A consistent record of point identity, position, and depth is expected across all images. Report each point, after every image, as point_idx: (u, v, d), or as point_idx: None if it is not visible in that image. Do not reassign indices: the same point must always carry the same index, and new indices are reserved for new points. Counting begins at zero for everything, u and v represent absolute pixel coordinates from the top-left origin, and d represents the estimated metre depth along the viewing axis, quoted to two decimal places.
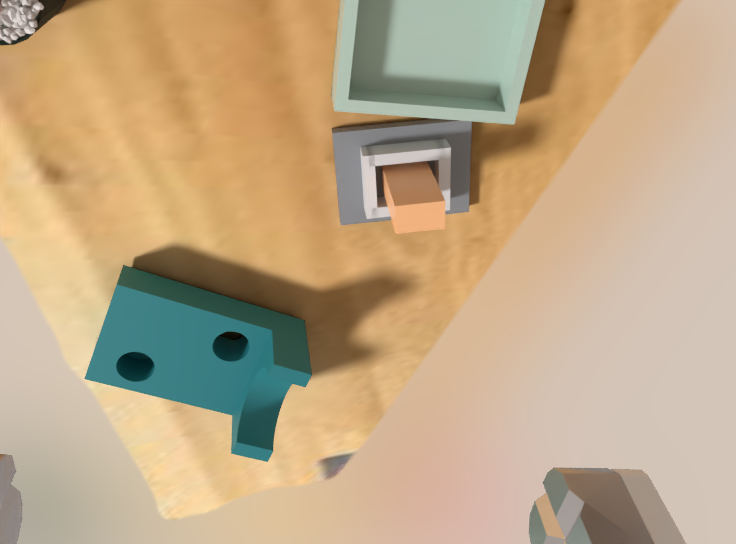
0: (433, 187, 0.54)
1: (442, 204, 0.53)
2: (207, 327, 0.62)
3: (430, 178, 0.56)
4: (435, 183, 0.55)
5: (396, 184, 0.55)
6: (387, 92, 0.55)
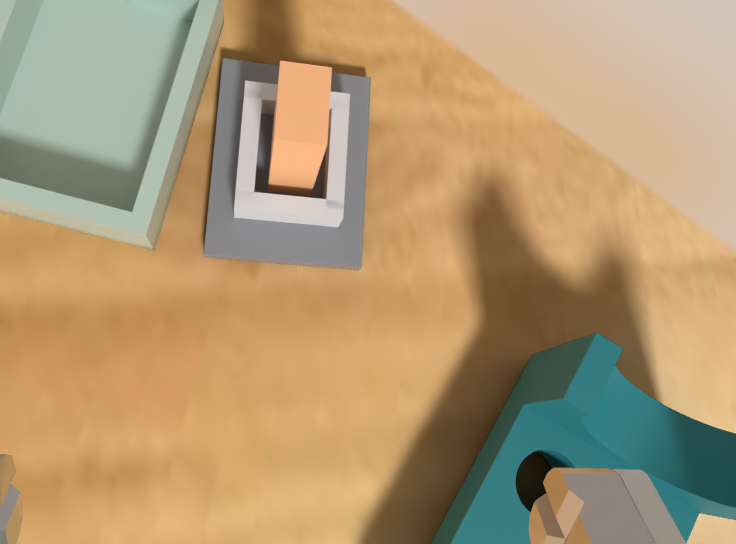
0: None
1: (285, 65, 0.32)
2: (501, 517, 0.34)
3: (275, 105, 0.36)
4: (276, 93, 0.35)
5: None
6: None
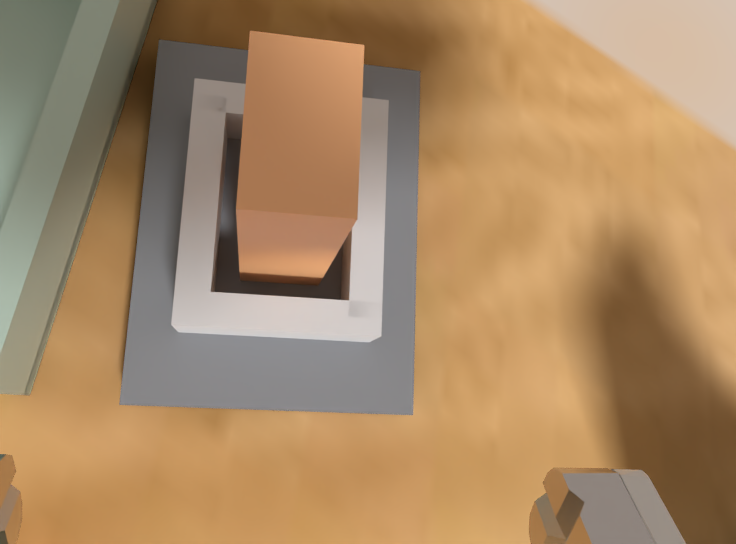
0: None
1: (262, 41, 0.14)
2: None
3: None
4: None
5: None
6: None
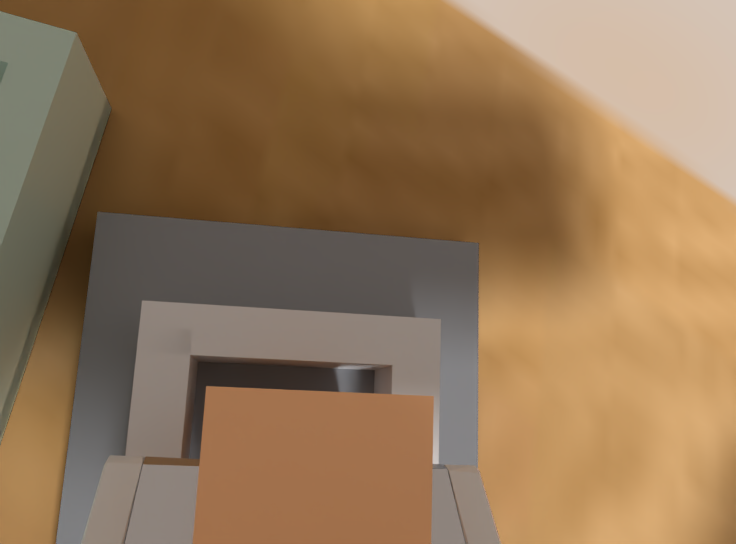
0: None
1: (231, 409, 0.07)
2: None
3: None
4: None
5: None
6: None
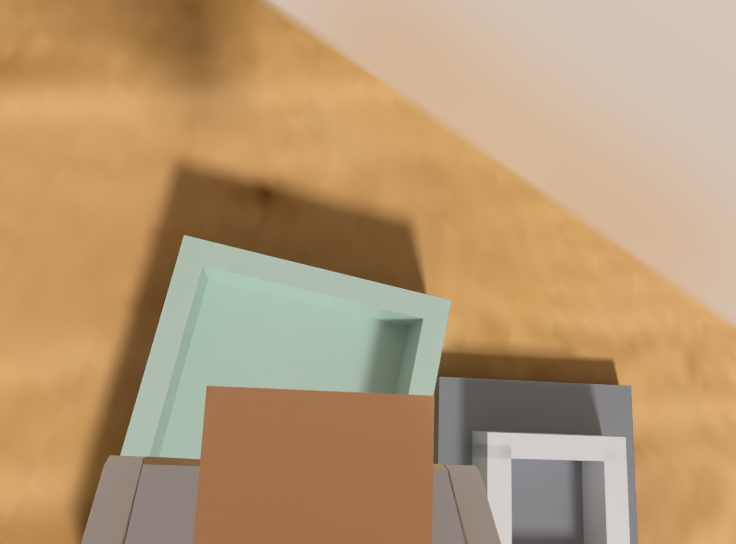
0: None
1: (231, 408, 0.07)
2: None
3: None
4: None
5: None
6: None
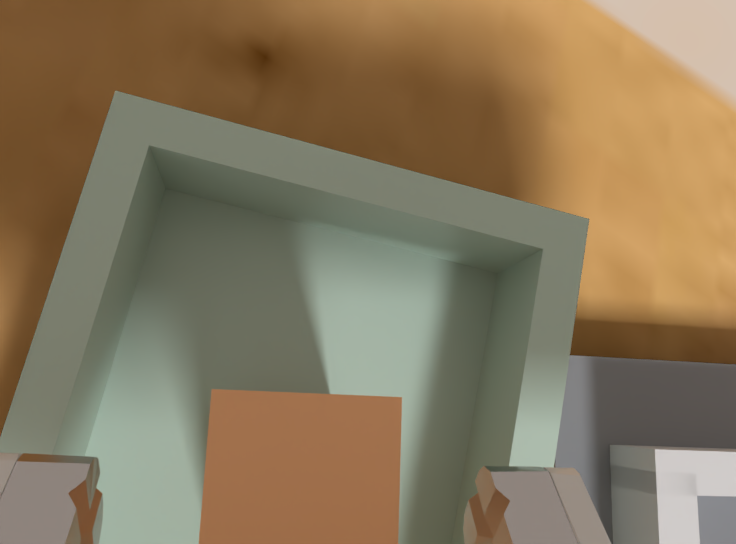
0: None
1: (232, 408, 0.09)
2: None
3: None
4: None
5: None
6: None
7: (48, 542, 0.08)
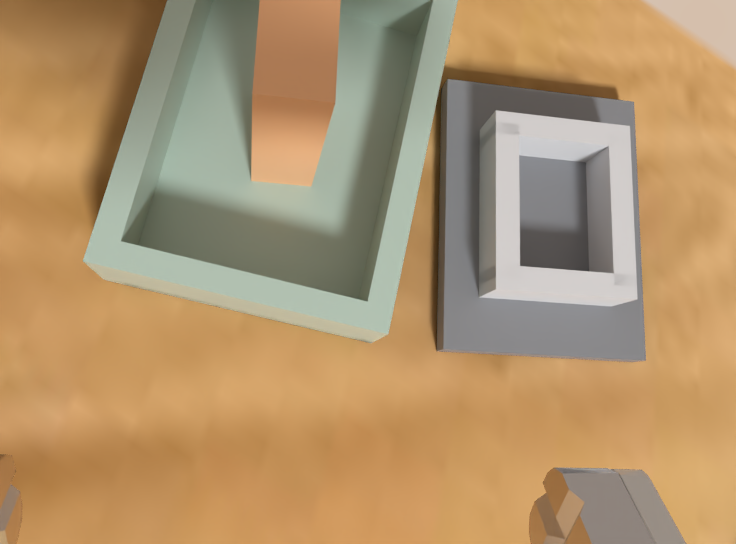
0: None
1: None
2: None
3: None
4: None
5: None
6: (374, 229, 0.28)
7: None
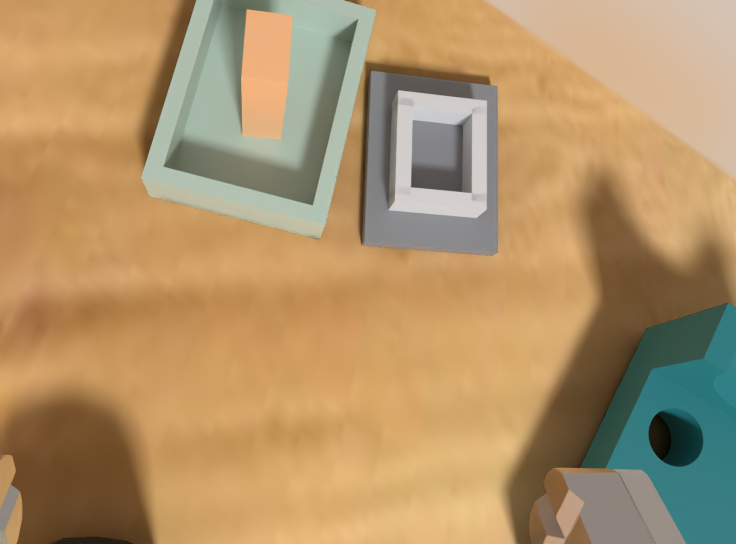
0: None
1: (251, 13, 0.37)
2: (638, 465, 0.40)
3: None
4: None
5: None
6: (321, 166, 0.44)
7: None
